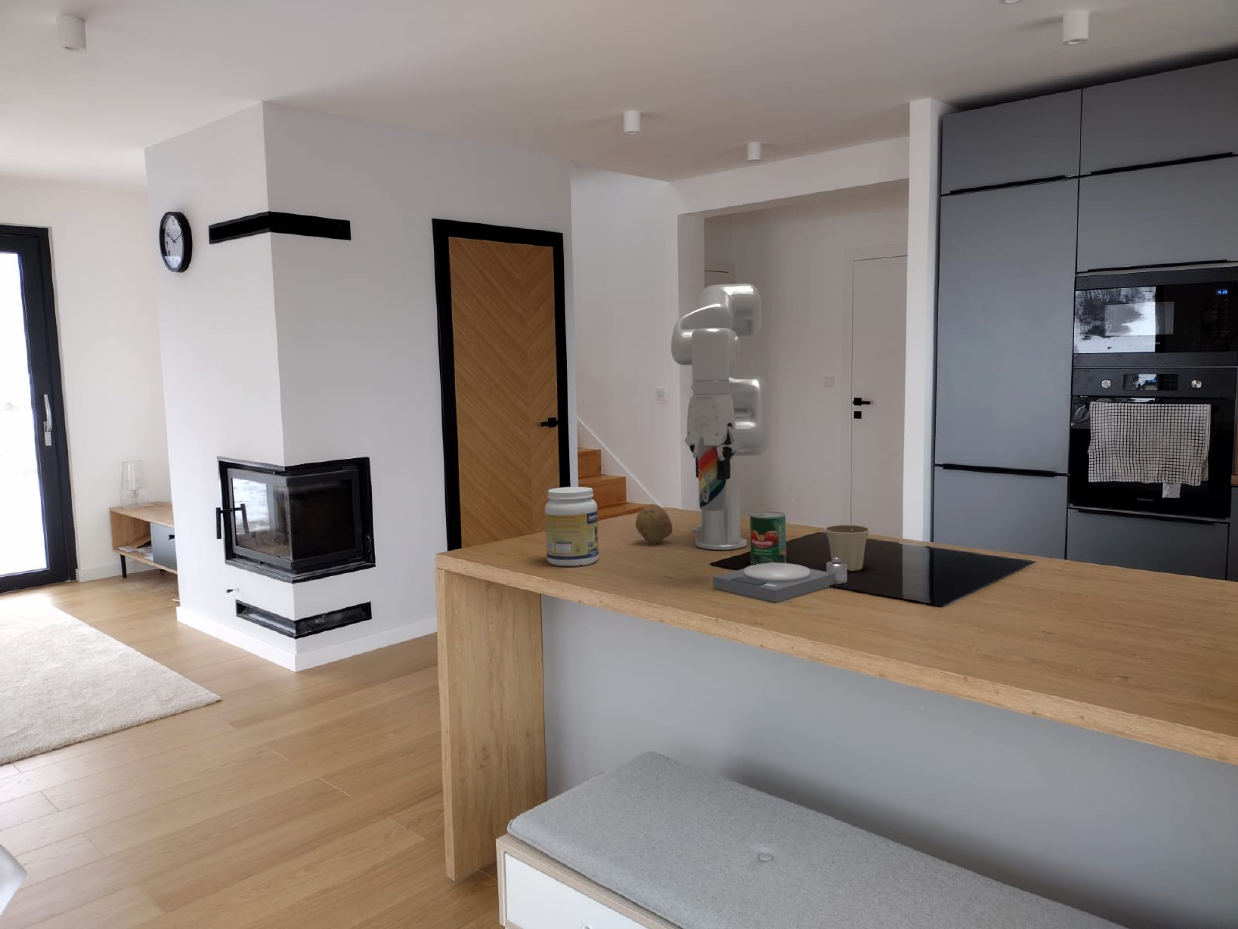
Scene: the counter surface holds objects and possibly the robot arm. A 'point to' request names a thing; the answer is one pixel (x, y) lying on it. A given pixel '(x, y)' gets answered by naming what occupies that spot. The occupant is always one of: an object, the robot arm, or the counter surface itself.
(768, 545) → the canned tomato
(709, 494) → the lotion bottle
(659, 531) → the brown rounded lump
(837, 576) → the calibration weight
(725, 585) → the kitchen scale
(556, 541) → the supplement tub
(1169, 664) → the counter surface
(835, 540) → the flower pot
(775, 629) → the counter surface
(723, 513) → the robot arm
